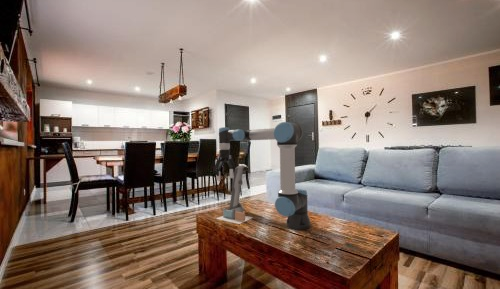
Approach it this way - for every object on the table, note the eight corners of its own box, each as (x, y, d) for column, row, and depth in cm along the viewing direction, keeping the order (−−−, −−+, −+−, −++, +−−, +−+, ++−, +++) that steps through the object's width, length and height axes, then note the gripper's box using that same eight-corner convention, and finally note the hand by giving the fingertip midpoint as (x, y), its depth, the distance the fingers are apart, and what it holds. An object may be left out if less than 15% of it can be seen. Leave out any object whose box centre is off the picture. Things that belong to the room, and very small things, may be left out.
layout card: (253, 217, 167) (253, 217, 167) (239, 224, 154) (239, 223, 154) (230, 213, 179) (230, 212, 179) (216, 218, 166) (216, 218, 166)
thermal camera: (243, 212, 179) (242, 167, 179) (226, 212, 180) (225, 167, 180) (245, 208, 191) (244, 165, 191) (229, 208, 192) (228, 165, 192)
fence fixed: (235, 219, 164) (235, 209, 164) (234, 219, 163) (233, 209, 163) (224, 216, 171) (224, 207, 171) (222, 217, 169) (222, 207, 169)
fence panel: (245, 220, 159) (245, 211, 159) (244, 221, 158) (244, 212, 158) (236, 218, 164) (236, 209, 164) (235, 219, 163) (234, 210, 163)
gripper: (231, 148, 179) (232, 176, 179) (208, 149, 158) (208, 181, 159) (239, 148, 174) (240, 177, 174) (216, 149, 154) (216, 182, 154)
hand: (225, 179), depth 166 cm, fingers open, 13 cm apart
